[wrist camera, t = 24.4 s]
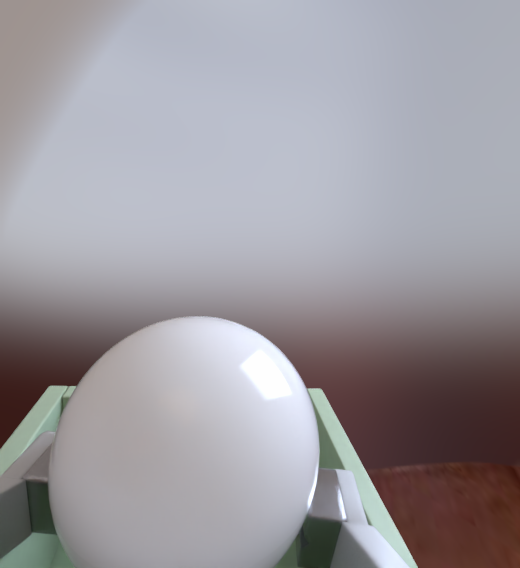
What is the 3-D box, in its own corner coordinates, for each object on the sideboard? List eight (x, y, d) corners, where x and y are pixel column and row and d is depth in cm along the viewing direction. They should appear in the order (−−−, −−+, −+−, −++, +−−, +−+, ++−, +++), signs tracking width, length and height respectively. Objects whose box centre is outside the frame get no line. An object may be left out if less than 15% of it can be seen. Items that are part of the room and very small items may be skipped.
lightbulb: (95, 548, 13) (83, 281, 9) (251, 520, 14) (286, 288, 11) (30, 870, 7) (-59, 452, 4) (306, 755, 8) (412, 409, 5)
